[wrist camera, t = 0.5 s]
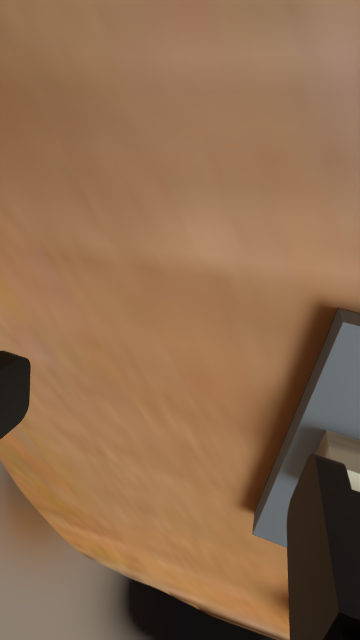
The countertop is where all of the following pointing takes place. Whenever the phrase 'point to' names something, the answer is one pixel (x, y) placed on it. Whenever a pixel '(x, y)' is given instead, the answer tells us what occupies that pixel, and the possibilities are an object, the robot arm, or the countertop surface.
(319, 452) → the birch block
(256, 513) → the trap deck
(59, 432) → the countertop surface
